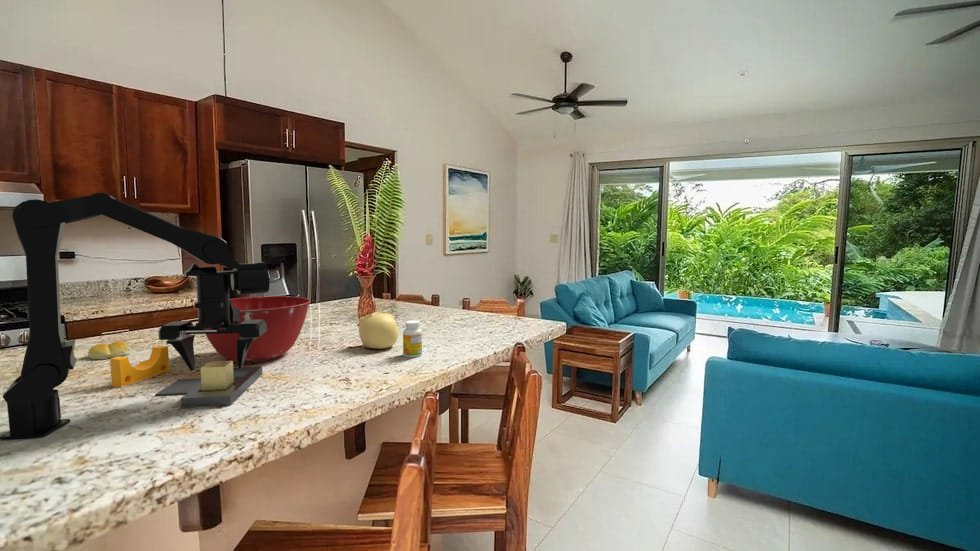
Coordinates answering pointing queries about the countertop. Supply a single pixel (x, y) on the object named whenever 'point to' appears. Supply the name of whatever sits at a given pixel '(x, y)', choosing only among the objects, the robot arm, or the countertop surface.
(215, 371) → the pale yellow block
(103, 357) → the bread roll
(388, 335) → the pale yellow melon
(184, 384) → the mat
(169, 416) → the countertop surface
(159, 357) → the pipe clamp
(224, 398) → the gray slotted plate
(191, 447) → the countertop surface
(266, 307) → the mixing bowl
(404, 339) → the supplement bottle
